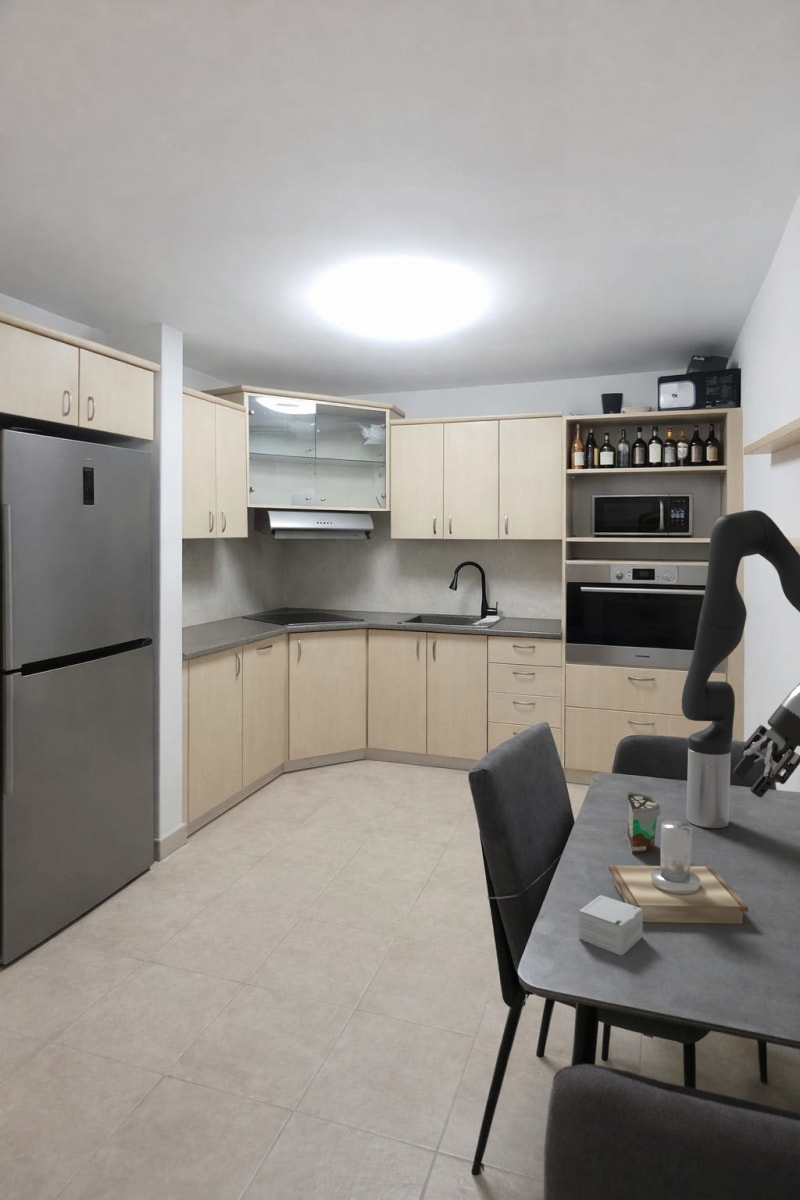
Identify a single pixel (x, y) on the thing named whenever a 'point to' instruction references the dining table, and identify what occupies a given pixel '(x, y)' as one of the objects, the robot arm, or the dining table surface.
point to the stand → (679, 897)
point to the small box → (611, 924)
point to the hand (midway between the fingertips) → (746, 784)
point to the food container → (642, 822)
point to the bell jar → (675, 861)
